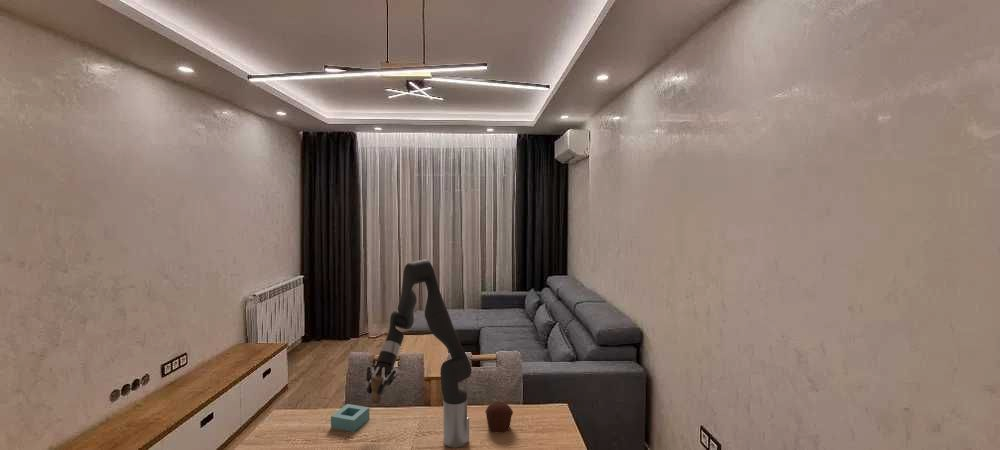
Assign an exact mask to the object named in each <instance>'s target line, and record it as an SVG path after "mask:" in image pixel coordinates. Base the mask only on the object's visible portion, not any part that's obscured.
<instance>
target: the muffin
mask: <svg viewBox="0 0 1000 450" xmlns="http://www.w3.org/2000/svg"><path fill="white" fill-rule="evenodd" d="M484 413H485V416H486V421H487V427H489V428H490V429H489V428H488V429H489V430H491V431H490V432H493V431H494V433H495V432H503V433H505V432H506V431H505V430H508V431H509V429H508V428H510V427H511V423H512V422H511V421H512V416H513V414H514V411H513V409H512V408H511V406H509V404H507V403H506V402H503V401H494V402H492V403H490V404H489V405H488V406H487V408H486V409H485V412H484ZM509 426H510V427H509ZM504 431H505V432H504Z"/></svg>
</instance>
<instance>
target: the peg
mask: <svg viewBox="0 0 1000 450" xmlns="http://www.w3.org/2000/svg"><path fill="white" fill-rule="evenodd" d="M381 380H382V379H381V376H379V375H376V376H372V377H371V403H372V404H379V403H381V402H382V401H383V397H382V394H383V393H382V394H381V395H378V394H377V391H378V389H379V386H380V384H381Z"/></svg>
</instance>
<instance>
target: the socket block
mask: <svg viewBox="0 0 1000 450" xmlns="http://www.w3.org/2000/svg"><path fill="white" fill-rule="evenodd" d="M369 420H370V406H369V407H368V406H362V405H357V404H350V403H346V404H345V405H344V406H342V407H341V408H339V409H338V410H337V411H336V412H334V413H333V414H332V415H331V416H330V428H331V429H334V430H342V431H345V432H351V433H355V432H356V431H358V429H359V428H361V427H362V426H363V425H364V424H365V423H366V422H368V421H369Z"/></svg>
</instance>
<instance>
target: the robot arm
mask: <svg viewBox="0 0 1000 450" xmlns="http://www.w3.org/2000/svg"><path fill="white" fill-rule="evenodd" d="M433 267H434V266H433V265H432V263H431V261H429V260H428V259H425V258H424V259H420V260H415V261H410V262H408V263H406V264H405V266H404V269H403V274H402V285H401V295H400V299H399V303H398V306H397V309H396V310H394V311H393V312H392V313H391V315H390V318H389V319H390V321H389V329H388V333H387V335H386V338H385V340H384V343H383V345H381V349H380V352H379V354H378V357H377V359H376V363H375V365H374V366H372V367H370V366H368V367H367V369H366V379H365V380H366V381H367V382H368V386H367V389H366V392H367V393H368V394H369V395H370V394H371V377H372V376H376V375H379V376H381V384H380V386H379V389H378V391H377V394H378V395H381V394H383V393H384V390H385V387H387V386H390V385H391V384H392V383H393V382H394V380H395V379H396V377H397V376H398V374H399V373H398V371H396V370H394V366H395V363H396V361H397V359H398V356H399V353H400V350H401V345H402V344H403V341H404V337H405V334H404V333H403V332H402V331H400V330H399V329H398V328H400V329H403V330H406V331H407V330H409V329H411V328H412V327H413V326H414V321H415V319H414V310H415V307H416V304H417V294H416V293H415V291H414V290H413V288H414V286H415V285H417V284H422V283H424V284H425V286H426V291H427V298H426V299H427V300H426V302H425V303H426V304H425V307H424V308H425V309H424V318H425V321H426V324H427V326H428V329H429V331H430V332H431V334H432V335H433V336H434V337H435V338H436V339H437V340H438V341H440V343H442V344H443V345H444V346H445V347H446V349H447V351H448V353H449V355H450V356H451V358H450V359H448V360H445V361H443V362H442V364H441V365H440V389H441V394H442V397H443V398H442V399H443V402H442V403H443V413H442V414H443V444H444V445H445V446H446V447H448V448H461V447H463V446H464V445H466V444H467V443H469V442H470V418H469V417H468V392H467V390H466V389H464V388H463V387H460V386H459V383H461V382H463V381H465V380H467V379H469V378H470V377H471V375H472V365H471V362H470V360H469V357H468V356H467V354H466V351H465V350H464V347H463V345H462V343H461V342H460V340H459V337H458V335H457V331H456V329H455V327H454V325H453V323H452V322H453V321H452V319H451V317H450V313H449V311H448V309H447V307H446V304H445V301H444V298H443V297H442V294H441V291H440V287H439V284H438V281H437V277H436V272H435V270H434V268H433ZM371 395H372V394H371Z"/></svg>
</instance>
